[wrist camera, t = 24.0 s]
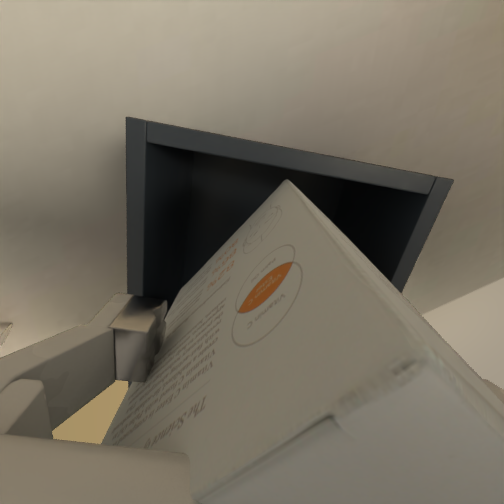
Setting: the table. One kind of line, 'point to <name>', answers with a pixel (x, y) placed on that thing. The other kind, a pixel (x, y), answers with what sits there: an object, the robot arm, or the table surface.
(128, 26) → the table surface
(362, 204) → the open box
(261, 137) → the table surface
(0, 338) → the white animal figurine
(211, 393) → the small box
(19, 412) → the robot arm
